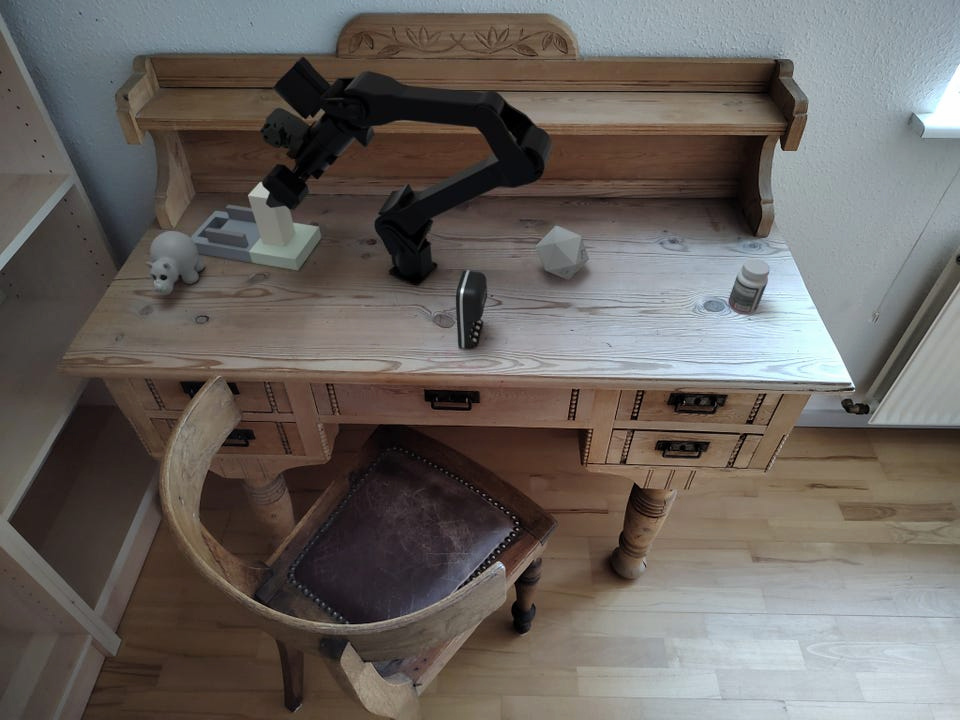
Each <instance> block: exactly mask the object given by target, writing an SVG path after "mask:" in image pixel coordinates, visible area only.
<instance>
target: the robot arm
mask: <svg viewBox="0 0 960 720" xmlns="http://www.w3.org/2000/svg"><path fill="white" fill-rule="evenodd" d="M272 90H273V91H274V92H275V93H276V94H277V95H278V96H279V97H280V98H281V99H282V100H283V101H285V103H287V104H288V105H289V106H290V108H292V109H293V110H294V111H295V112H296V113H297V114H298V115H299V116H300V117H299V116H297V115H295V114H293V113H292V112H290V111H288V110H286V109H284V108H281V107H277V108H275V109H274V110H273V111H272V112H270V114H269V115H268V116H266V118H265V122H264V124H263V126H262V127H261V128H260V130H259V131H260V133H261V134H262V140H263V141H264V143H266V144H268V145H270V146H272V147H273V148H276V149H279V148H281V147H282V148H284V149H286V150H287V152H285V155H286V156H287V157H288V158H289V159H290V160H294V164H295V165H294V167H293V168H292V170H291V169H290V168H289V167H288V166H286V165H285V164H279V163H277V164H276V165H275V166H274V167H273V168H272V169H271V171H270V172H268V173H267V175H266V176H265V177H264V179H262V180H261V182H262V185H263V187H264V188H265V189H267V190H268V191H269V195H268V198H267V201H266V205H268V206H269V207H270V208H274V207H281V206H286V207H287V208H288V209H290V211H291V210H292V211H295V210H296V209H297V207H299V206H300V205H301V204H302V202H303V201H304V199H305V198H306V197H307V195H309V193H310V190H309V186H308V184H307V183H306V182H308V180H309V179H310V177H311V176H312V177H313V178H314V179H316V180H319V179H320V177H322V175H323V174H324V173H325V171H326V170H327V169H328V168H329V167H330V166H332V165H333V164H334V163H335V162H336V161H337V159H339V157H340V156H341V154H342V153H344V152H345V150H346V149H347V148H348V147H349V146H350V145H351V144H352V143H353V142H354V141H355V140H356V141H357V142H358V143H360V144H361V146H363V147H364V148H366V147H368V145H369V144H370V143H371V141H372V140H373V139H374V137H375V136H376V134H375V130H374V128H373V127H381V126H385V125H387V124H391V123H395V122H401V121H402V122H403V121H406V122H407V121H408V122H415V123H427V124H436V125H447V126H457V127H466V128H476V129H477V130H478V131H479V132H480V133H481V135H483V137H484V138H485V141H486V142H487V144H488V147H490V149H491V151H492V154H491V155H489V157H486V158H484V159H482V160H480V161H478V162H477V163H474V164H473V165H471V166H468V167H467V168H465V169H462V170H460V171H459V172H456V173H454V174H453V175H450V176H449V177H447V178H445V179H443V180H440V181H438V182H437V183H435V184H433V185H431V186H430V187H427V188H425V189H423V190H420V191H418V190H413V189H412V187H411V185H410V184H409V183H407V184H405V185H404V186H402V187H401V188H400V189H398V190H392V191H391V192H390V194H389V195H388V197H387V198H386V200H385V202H384V203H383V204H382V206H381V208H380V209H379V211H378V212H377V213H378V215H377V217H376V219H375V220H374V222H373V223H374V230H375V233H376V234H377V236H378V237H379V238H380V239H381V240H380V241H382V243H383V245H384V247H385V249H386V251H387V252H388V254H389V255H390V256H391V263H392V267H391V268H390V269H389V270H388V274H389V275H390V276H393V277H395V278H397V279H400V280H402V281H403V282H406V283H409V284H411V285H413V286H419V285H420V284H422V282H424V281H425V280H426V279H427V278H428V277H429V276H430V275H431V274H432V273H433V272H434V271H435V270H437V269H438V268H439V264H438V263H436V262H434V261H432V259H433V258H432V248H431V245H432V244H431V242H429V241H428V239H427V237H428V234H429V233H430V232H431V229H432V228H433V224H434V220H433V218H436V217H437V216H440V215H441V214H443V213H444V214H445V213H446V212H448V211H450V210H452V209H455V208H457V207H459V206H460V205H463V204H465V203H467V202H469V201H471V200H473V199H476V198H478V197H480V196H482V195H484V194H486V193H488V192H490V191H493V190H495V189H497V188H510V189H515V188H521V187H523V186H528V185H531V184H534V183H536V182H537V181H539V180H540V179H541V178H542V176H543V175H544V171H545V169H546V167H547V164H548V161H549V158H550V155H551V153H552V151H553V141H552V137H551V136H550V135H549V133H548V132H547V131H546V130H544V129H543V128H541V127H538V126H537V125H536V123H534V122H533V121H532V119H531V118H530V117H529V116H528V115H527V114H526V113H524V112H522V111H521V110H520V109H518V108H516V107H514V106H512V105H511V104H510V103H508V102H507V100H506V99H505V98H504V97H503V96H502V95H501V94H500V93H499V92H497V91H494V90H489V91H487V90H486V91H473V90H463V89H462V90H459V89H448V88H440V87H439V88H437V87H427V86H426V87H425V86H414V85H408V84H403V83H402V82H399V81H398V80H396V79H394V78H393V77H392V76H389V75H385V74H383V73H378V72H374V71H369V70H366V71H362V72H360V73H359V74H357V75H356V76H346V77H345V76H344V77H337V78H336V79H335V80H334V81H333V83H332V84H330V82H328V81H327V79H326V78H324V77H323V76H322V74H320V72H319V71H317V70H316V69H315V68H314V67H313V65H312V64H311V62H310V61H309V60H308V59H306V57H305V56H301V57H300V58H299V59H298V60H297V61H296V62H295V63H294V65H293V66H291V68H290V69H289V70H288V71H287V72H286V73H285V74H283V76H281V77H280V78H279V79H278V81H277V82H276V83H275V85H274V86H273V87H272ZM321 110H322V111H323V114H322V115H321V116H320V117H319V118H318V120H314V121H313V122H312V123H311V124H309V123H306V121H304V120H307V119H308V118H309V117H311V118H313V119H314V118H315V117H316V116H317V114H319V112H320V111H321ZM302 118H303V119H304V120H303V119H302Z"/></svg>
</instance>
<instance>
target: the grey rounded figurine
mask: <svg viewBox="0 0 960 720" xmlns="http://www.w3.org/2000/svg"><path fill="white" fill-rule="evenodd" d="M190 237H191V236H189V235H187V234H186V233H183V232H181V231H176V230H169V231H164V232H162V233H160V234H159V235H157V236H156V237H155V238H154V239H153V240H152V242H151V244H150V247H149V248H150V249H149V255H150V259H151V262H150V261H146V262H145V264H146V265H147V267H148V268H149V276H150V278H151V279H152V281H153V288H154V291H155V292H156V293H157V294H159V295H162V296H165V295H169V294H170V293H172V291H173V289H174V284H175V283H177V282H178V280H180V278H181V280H182V281H183V282H184V283H185V284H188V285H191V284H194V283H196V282H197V281H198V280H199V278H200V277H199V276H200V275H199V273H198V272H202V270H203V269H204V268H205V267H206V266H205V261H204V259H202V257H200V256H199V254H198V250H197V247H196V244H195V243H194V241H193V240H192V239H191V238H190Z"/></svg>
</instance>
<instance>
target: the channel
mask: <svg viewBox="0 0 960 720" xmlns="http://www.w3.org/2000/svg"><path fill="white" fill-rule="evenodd" d="M225 209H226V211H221V210H214V211H213V212H212V214H211V215H210V216H209V217H208V218H207V219H206V220H205V221H204V223H202V224H201V225H200V227H199V228H198V229H197V230H196V231H195V232H194V233H193V234H192V235H191V236H189V237H190V238H191V239H192V240H193V241H194V243H195V244H196V247H197V250H198V255H203V256H204V255H205V256H210V257H211V256H212V257H216V258H222V259H227V260H234V261H240V262H246V263H251V264H257V265H263V266H268V267H269V266H270V267H275V268H281V269H287V270H294V271H299V270H300V269H301V267H302V266H303V264H304V263H305V261H306V260H307V259H308V257H309V256H310V254H312V252H313V250H314V249H315V247H316V246H317V245H318V244H319V242H320V241H321V239H322V234H321V230H320V226H316V225H311V224H310V225H309V224H304V223H297V222H293V224H294V228H295V232H296V233H295V235H294V236H293V237H292V238H291V240H290V241H289V242H288V244H287V245H286V246H285V247H281V246H275V245H269V244H263V243H262V240H261V237H260V233H259V230H258V227H257V224H256V220H255V217H254V214H253V211H252V208H251V207H247V206H239V205H233V204H227V205H226V206H225Z"/></svg>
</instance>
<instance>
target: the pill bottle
mask: <svg viewBox="0 0 960 720" xmlns="http://www.w3.org/2000/svg"><path fill="white" fill-rule="evenodd" d="M770 271H771V267H770V265H769V263H767V261H764V260H763V259H759V258H752V257H751V258H748V259H746V260H744V262H743V264H742V267H741V268H740V270H739V271H738V272H737V275H736V278H735V280H734V284H733V286H732V288H731V292H730V295H729V297H728V301H727V302H728V305H729V308H731V309H732V310H733V311H734V312H736V313H739V314H743V315H747V314H752V313H754V312H755V313H756V311H757V309H758V307H759V304H761V303H760V302H761V300H762V298H763V295H764V292H765V289H766V287H767V285H768V281H769V279H768V275H769V273H770Z"/></svg>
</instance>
